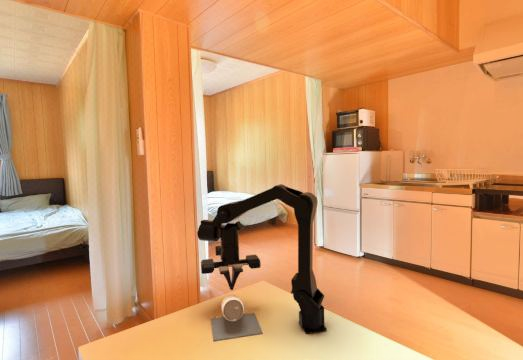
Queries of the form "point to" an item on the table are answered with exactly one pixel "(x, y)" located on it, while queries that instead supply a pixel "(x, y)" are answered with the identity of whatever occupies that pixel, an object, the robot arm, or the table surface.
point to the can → (232, 308)
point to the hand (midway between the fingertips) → (231, 289)
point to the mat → (235, 327)
